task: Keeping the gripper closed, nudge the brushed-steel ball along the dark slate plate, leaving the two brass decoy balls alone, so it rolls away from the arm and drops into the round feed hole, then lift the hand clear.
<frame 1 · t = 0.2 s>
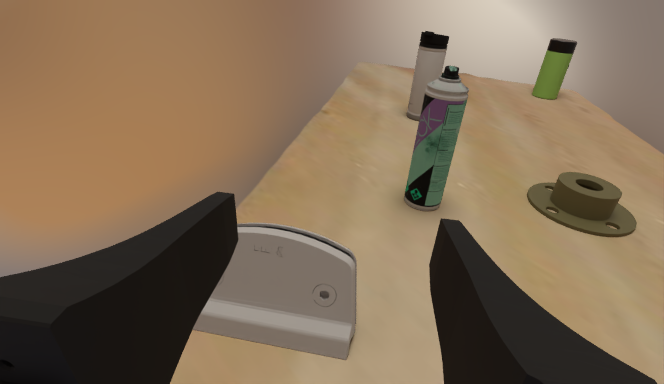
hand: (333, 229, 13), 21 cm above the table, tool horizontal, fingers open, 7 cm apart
spray can: (421, 202, 57), on the table
travel mug: (418, 118, 93), on the table
grey rounded bracket: (271, 312, 37), on the table
flange: (576, 211, 59), on the table
tumbler: (543, 97, 122), on the table
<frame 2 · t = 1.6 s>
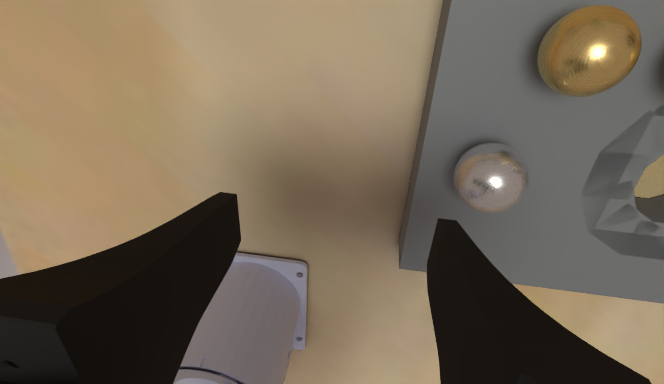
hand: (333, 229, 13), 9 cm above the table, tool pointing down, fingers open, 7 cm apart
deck: (587, 154, 20), on the table
ball: (490, 178, 17), point 4 cm above the table, touching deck
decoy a: (586, 52, 14), point 4 cm above the table, touching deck
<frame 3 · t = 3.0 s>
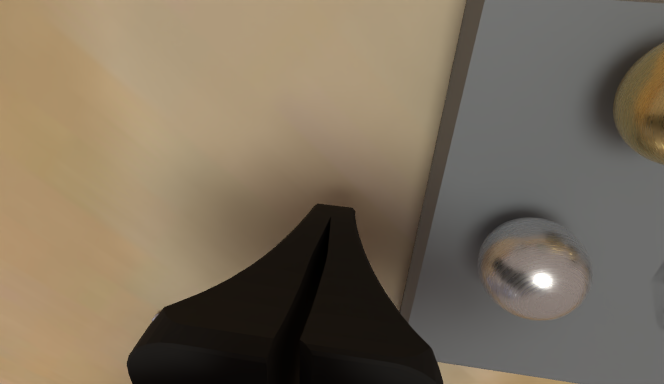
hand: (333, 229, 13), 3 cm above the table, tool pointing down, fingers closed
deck: (654, 217, 15), on the table
ball: (531, 267, 12), point 4 cm above the table, touching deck
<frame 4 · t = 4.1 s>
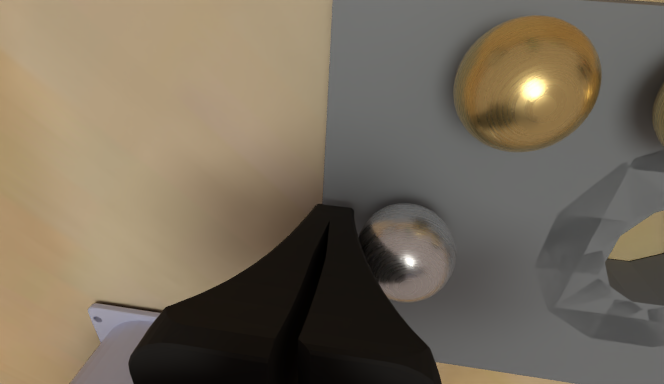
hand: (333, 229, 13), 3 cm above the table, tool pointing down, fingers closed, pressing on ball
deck: (549, 206, 15), on the table
ball: (404, 251, 12), point 4 cm above the table, touching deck, gripper
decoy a: (521, 87, 9), point 4 cm above the table, touching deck
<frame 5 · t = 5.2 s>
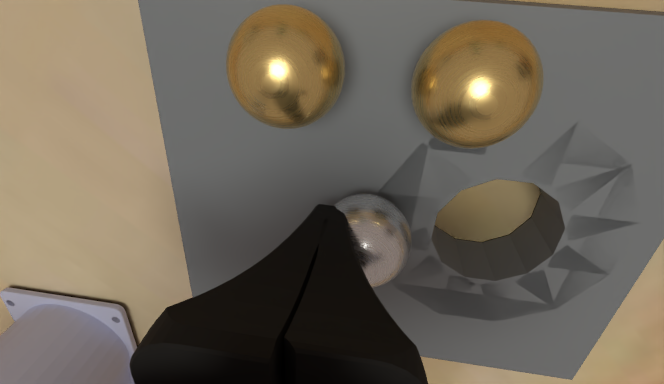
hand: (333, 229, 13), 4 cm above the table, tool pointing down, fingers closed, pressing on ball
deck: (399, 189, 16), on the table
ball: (364, 240, 13), point 4 cm above the table, tilted 171°, touching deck, gripper
decoy b: (473, 87, 10), point 4 cm above the table, touching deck
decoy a: (286, 69, 10), point 4 cm above the table, touching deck
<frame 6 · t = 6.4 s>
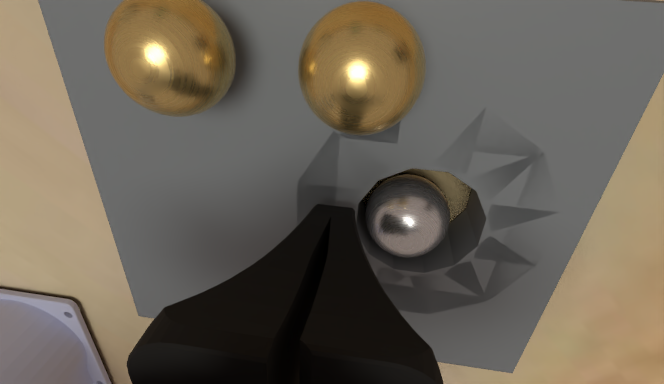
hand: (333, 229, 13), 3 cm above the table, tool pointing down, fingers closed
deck: (332, 180, 16), on the table
ball: (406, 215, 14), point 2 cm above the table, tilted 7°
decoy b: (361, 71, 9), point 4 cm above the table, touching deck
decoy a: (174, 55, 10), point 4 cm above the table, touching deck
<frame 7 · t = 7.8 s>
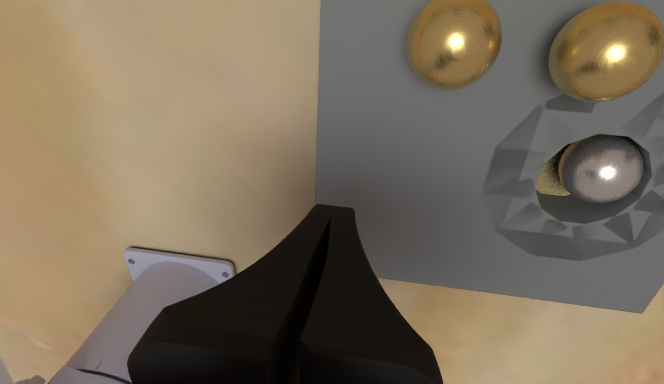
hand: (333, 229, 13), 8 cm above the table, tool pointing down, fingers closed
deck: (497, 150, 19), on the table
ball: (598, 168, 17), point 2 cm above the table, tilted 34°, touching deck
decoy b: (602, 53, 13), point 4 cm above the table, touching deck
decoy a: (452, 42, 13), point 4 cm above the table, touching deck
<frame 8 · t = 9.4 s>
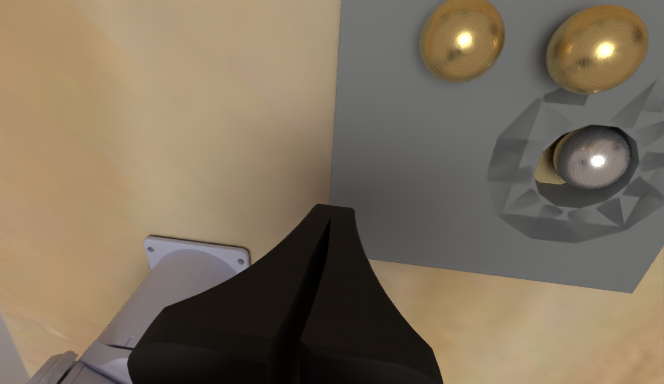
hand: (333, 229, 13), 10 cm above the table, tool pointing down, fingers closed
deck: (499, 141, 21), on the table
ball: (589, 157, 19), point 2 cm above the table, tilted 31°
decoy b: (594, 51, 14), point 4 cm above the table, touching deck
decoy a: (460, 41, 15), point 4 cm above the table, touching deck
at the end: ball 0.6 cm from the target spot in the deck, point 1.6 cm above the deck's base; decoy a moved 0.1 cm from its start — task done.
